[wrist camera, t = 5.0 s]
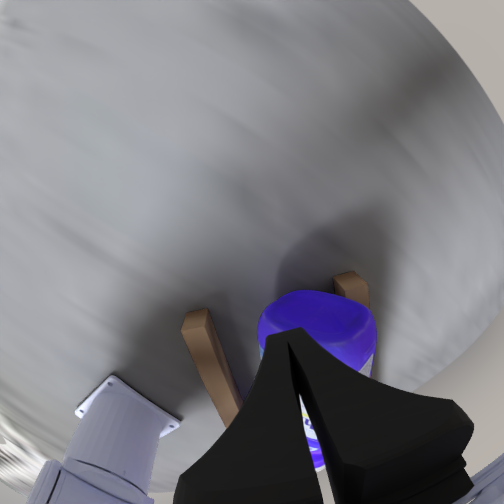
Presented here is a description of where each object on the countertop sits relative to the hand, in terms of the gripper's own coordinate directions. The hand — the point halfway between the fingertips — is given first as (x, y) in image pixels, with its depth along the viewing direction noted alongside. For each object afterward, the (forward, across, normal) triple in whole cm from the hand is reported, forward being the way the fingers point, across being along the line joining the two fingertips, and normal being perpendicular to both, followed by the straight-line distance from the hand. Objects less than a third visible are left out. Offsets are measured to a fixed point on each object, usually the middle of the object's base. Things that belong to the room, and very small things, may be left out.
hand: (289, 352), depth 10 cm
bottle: (+5, -2, +1) cm, 6 cm away
